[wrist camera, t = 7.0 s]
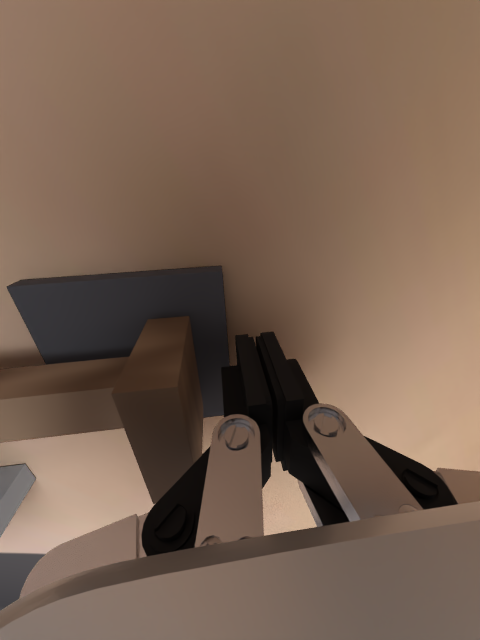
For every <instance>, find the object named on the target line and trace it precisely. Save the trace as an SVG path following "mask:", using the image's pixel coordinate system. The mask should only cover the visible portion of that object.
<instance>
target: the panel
mask: <svg viewBox="0 0 480 640" xmlns="http://www.w3.org/2000/svg"><path fill="white" fill-rule="evenodd" d="M7 289H8V291H9V293H10V295H11V297H12V299H13V301H14V303H15V305H16V307H17V309H18V310H19V312H20V314H21V316H22V318H23V320H24V322H25V324H26V326H27V328H28V330H29V332H30V334H31V336H32V338H33V340H34V342H35V344H36V346H37V348H38V350H39V352H40V354H41V355H42V357H43V359H44V361H45V363H46V365H48V364H58V363H68V362H78V361H89V360H99V359H109V358H120V357H130V354H131V352H132V350H133V348H134V346H135V344H136V342H137V340H138V338H139V336H140V334H141V332H142V330H143V328H144V326H145V324H146V322H147V320H148V319H159V318H171V317H183V316H189V318H190V324H191V331H192V337H193V344H194V350H195V357H196V363H197V369H198V376H199V382H200V389H201V395H202V402H203V418H205V417H213V416H222V415H224V407H223V391H222V376H221V367H227V366H230V364H229V351H228V338H227V325H226V312H225V299H224V287H223V274H222V266H211V267H196V268H182V269H168V270H154V271H140V272H126V273H112V274H98V275H84V276H70V277H56V278H42V279H27V280H20V281H18V282H16V283H13V284H11V285H9V286H7Z"/></svg>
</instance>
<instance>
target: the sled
mask: <svg viewBox="0 0 480 640" xmlns="http://www.w3.org/2000/svg"><path fill="white" fill-rule="evenodd" d="M120 428H124V429H125V431H126V434H127V437H128V439H129V442H130V444H131V447H132V450H133V452H134V455H135V457H136V460H137V463H138V465H139V468H140V470H141V473H142V476H143V478H144V481H145V483H146V486H147V489H148V491H149V494H150V496H151V499H152V502H153V504H155V503H157V502H158V501H159V500H160V499H161V498H162V497H163V495H164V494H165V493H166V492H167V491H168V490H169V489H170V488H171V487H172V486H173V485H174V484H175V483H176V482H177V481H178V480H179V479H180V478H181V477H182V476H183V474H184V473H185V472H186V471H187V470H188V469H189V468H190V467H191V466H192V465H193V464H194V463H195V462H196V461H197V460H198V459H199V458H200V457H201V456H202V437H203V402H202V395H201V389H200V382H199V376H198V369H197V363H196V357H195V350H194V344H193V337H192V331H191V324H190V318H189V316H183V317H171V318H159V319H148V320H147V322H146V324H145V326H144V328H143V330H142V332H141V334H140V336H139V338H138V340H137V342H136V344H135V346H134V348H133V350H132V352H131V354H130V357H120V358H109V359H99V360H89V361H78V362H68V363H58V364H48V365H37V366H27V367H17V368H6V369H0V443H2V442H10V441H19V440H27V439H36V438H44V437H53V436H61V435H69V434H78V433H86V432H95V431H103V430H112V429H120Z"/></svg>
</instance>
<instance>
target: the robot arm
mask: <svg viewBox="0 0 480 640" xmlns="http://www.w3.org/2000/svg"><path fill="white" fill-rule="evenodd" d="M235 340H236V353H237V365H236V366H227V367H221V376H222V391H223V407H224V418H223V419H222V420H220V421H219V422H218V423H217V425H216V426H215V428H214V431H213V434H212V441H211V446H210V447H209V448H208V449H207V450H206V451H205V452H204V453H203V455H202V456H201V457H200V458H199V459H198V460H197V461H196V462H195V463H194V464H193V465H192V466H191V467H190V468H189V469H188V470H187V471H186V472H185V473H184V474H183V476H182V477H181V478H180V479H179V480H178V481H177V482H176V483H175V484H174V485H173V486H172V487H171V488H170V489H169V490H168V491H167V492H166V493H165V494H164V495H163V497H162V498H161V499H160V500H159V501H158V502H157V503H156V504H155V505H154V506H153V508H152V509H151V510H150V512H149V513H146V514H144V515H141V516H139V517H138V516H137V514H134V515H132V516H129V517H127V518H124V519H122V520H119V521H117V522H114V523H112V524H110V525H107V526H105V527H102V528H100V529H97V530H95V531H92V532H90V533H87V534H85V535H82V536H80V537H78V538H75V539H73V540H70V541H68V542H65V543H63V544H60V545H59V546H57V547H55V548H54V549H52V550H50V551H49V552H48V553H47V554H46V555H45V556H44V557H43V558H41V559H40V560H39V561H38V562H37V564H36V565H35V567H34V568H33V570H32V571H31V572H30V574H29V575H28V577H27V579H26V582H25V584H24V586H23V589H22V591H21V595H20V598H19V600H17V601H15V602H14V603H12V604H11V605H9V606H7V607H6V608H4V609H3V610H1V611H0V640H480V472H478V471H467V470H456V469H445V468H437V470H436V471H432V470H431V469H429V468H427V467H426V466H424V465H422V464H420V463H418V462H416V461H414V460H412V459H410V458H408V457H406V456H404V455H402V454H400V453H398V452H396V451H394V450H392V449H390V448H388V447H386V446H384V445H382V444H380V443H378V442H376V441H374V440H372V439H369V438H367V437H365V436H363V435H362V433H361V432H360V431H359V430H358V429H357V427H356V426H355V425H354V424H353V422H352V421H351V420H350V419H349V417H348V416H347V415H346V414H345V413H344V412H343V411H342V410H340V409H338V408H337V407H335V406H332V405H329V404H319V402H318V400H317V398H316V396H315V394H314V392H313V390H312V388H311V387H310V385H309V383H308V381H307V379H306V377H305V375H304V373H303V371H302V369H301V367H300V365H299V363H298V362H297V360H296V359H289V360H286V358H285V356H284V353H283V351H282V349H281V347H280V345H279V343H278V340H277V338H276V336H275V334H274V332H264V333H261V334H260V336H257V337H256V345H255V342H254V339H253V337H248V334H245V335H236V336H235ZM272 449H273V453H274V457H275V460H276V462H279V461H281V464H282V468H283V471H286V470H288V472H289V474H291V475H292V476H294V477H295V478H297V479H298V484H299V487H300V490H301V492H302V494H303V496H304V498H305V501H306V503H307V505H308V507H309V509H310V512H311V514H312V516H313V518H314V520H315V523H316V525H317V527H315V528H309V529H303V530H297V531H291V532H284V533H278V534H272V535H267V536H264V528H263V500H262V488H263V487H264V485H265V484H266V482H267V481H268V479H269V478H270V476H271V463H272Z"/></svg>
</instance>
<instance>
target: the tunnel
mask: <svg viewBox="0 0 480 640" xmlns="http://www.w3.org/2000/svg"><path fill="white" fill-rule="evenodd" d="M35 480H36V478H35V477H34V475H33V474H32V473H31V471H30V470H29V469H28V467H27V466H26V464H21V465H13V466H5V467H0V537H1V536H2V534H3V532H4V531H5V529H6V527H7V526H8V524H9V522H10V521H11V519H12V517H13V516H14V514H15V512H16V511H17V509H18V508H19V506H20V504H21V503H22V501H23V499H24V498H25V496H26V494H27V493H28V491H29V489H30V488H31V486H32V485H33V483H34V481H35Z"/></svg>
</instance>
